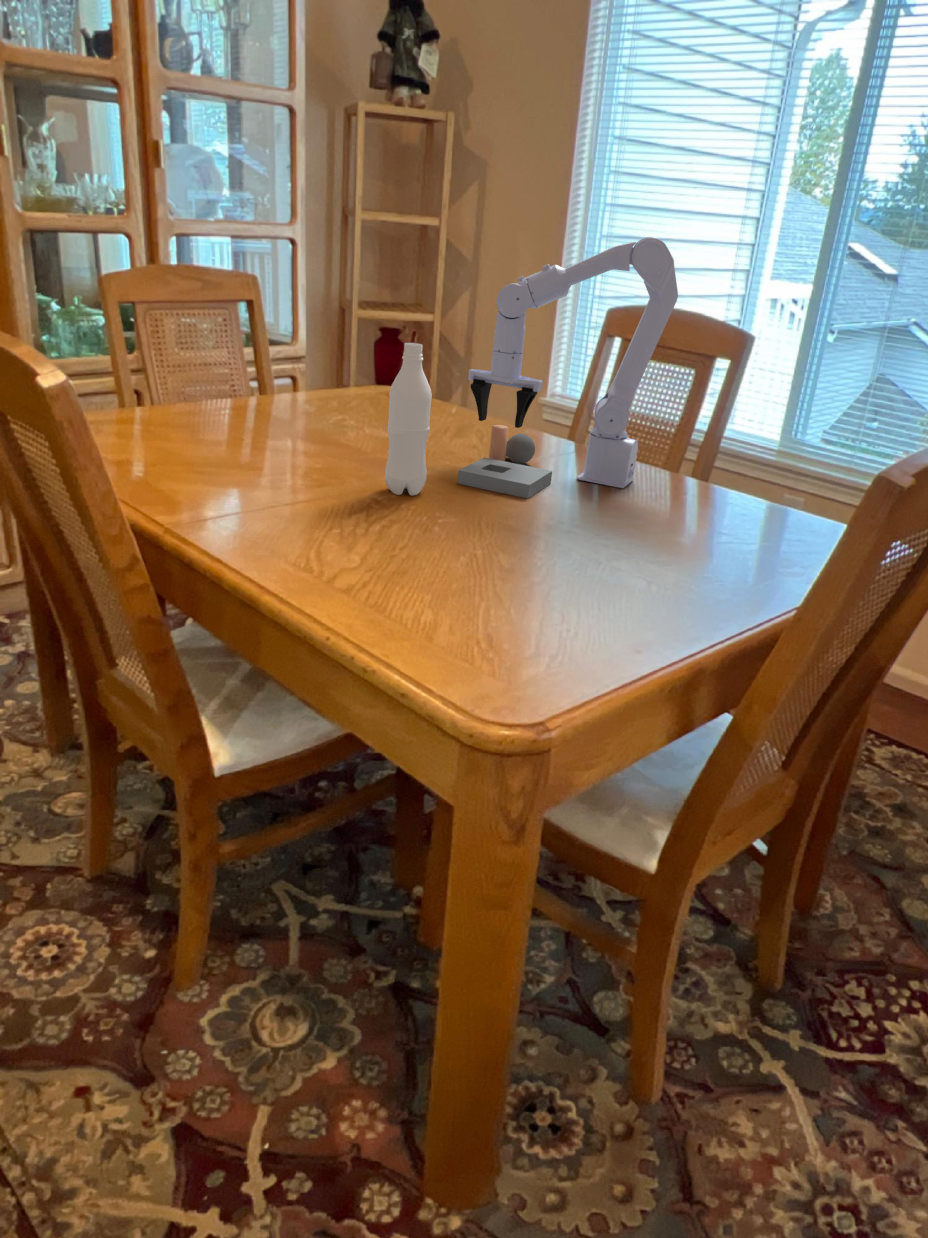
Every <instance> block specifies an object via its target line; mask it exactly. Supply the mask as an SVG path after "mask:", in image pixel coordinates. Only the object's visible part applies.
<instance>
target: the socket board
mask: <svg viewBox="0 0 928 1238" xmlns="http://www.w3.org/2000/svg"><path fill="white" fill-rule="evenodd" d="M552 478H553V471H552V470H549V469H545V468H539V467H535V466H530V465H526V464H518V463H515V462H509V461H506V460H505V461H500V460H495V459H490V458H489V457H483V458H481V459H479V460H476V461H474V462H473V463H471V464H468V465H466V466H464V467H462V468H460V469H458V470H457V481H456V483H457V484H459V485H464V486H468V487H473V488H476V489H482V490H486V491H491V492H496V493H500V494H503V495H504V494H505V495H509V496H514V497H519V498H524V499H530V498H531V497H533V496H534V495H535V494H537V493H539V492H540V491H542V490H544V489H545V488H546V487H549V486H550V485H551V484H552Z"/></svg>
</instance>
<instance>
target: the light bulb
mask: <svg viewBox="0 0 928 1238" xmlns="http://www.w3.org/2000/svg"><path fill="white" fill-rule="evenodd" d="M535 454H536V444H535V441H534V440H533V438H532V437H531V436H529V435H528V434H525V433H516V434H513V435H512V436H511V437H510V438H509V439H507V445H506V455H505V457H507V458H508V459H509V460H510V461H511V462H512V463H515V464H520V465H525V464H526V463H528V462H530V461H531V460H532V459H533V457H534V456H535Z"/></svg>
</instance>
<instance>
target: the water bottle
mask: <svg viewBox="0 0 928 1238" xmlns="http://www.w3.org/2000/svg"><path fill="white" fill-rule="evenodd" d="M403 346H404V349H403V350H404V351H403V354H402V357H401V359H402V365H401V367H400V370H399V371H398V373H397V375H396V376H395V378H394V381H393V382H392V383H391V386H390V389H389V392H388V393H389V394H388V396H389V401H388V403H389V405H388V406H389V408H388V423H387V435H388V444H389V445H388V456H387V461H386V464H385V467H384V468H385V470H384V476H385V477H384V478H385V485H386V486H387V488H388V490H389V491H391V493H393V495H398V496H400V495H402V494H403V492H404V491H405V489H406V490H407V492H408V495H410V496H411V497H412V496H413V497H414V496H417V495H418V494H420V492H421V491H422V490H423V489H424V486H425V484H426V481H427V475H428V473H427V471H428V470H427V463H426V448H427V443H428V438H429V437H428V436H429V434H430V429H431V428H430V422H431V421H430V417H431V406H432V405H431V403H432V398H433V396H432V390H431V386H430V384H429V382H428V378H427V376H426V374H425V372H424V368H423V361H424V357H423V355H424V354H423V350H424V348H423V347H424V346H423V344H421V343H417V342H404V345H403Z"/></svg>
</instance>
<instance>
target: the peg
mask: <svg viewBox="0 0 928 1238" xmlns="http://www.w3.org/2000/svg"><path fill="white" fill-rule="evenodd" d="M508 434H509V426H507V425H503V424H494V425H493V424H492V426H491V433H490V444H489V453H488V458H490V459H495V460H500V461H505V462H506V456H505V455H506V445H507V441H508Z"/></svg>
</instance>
